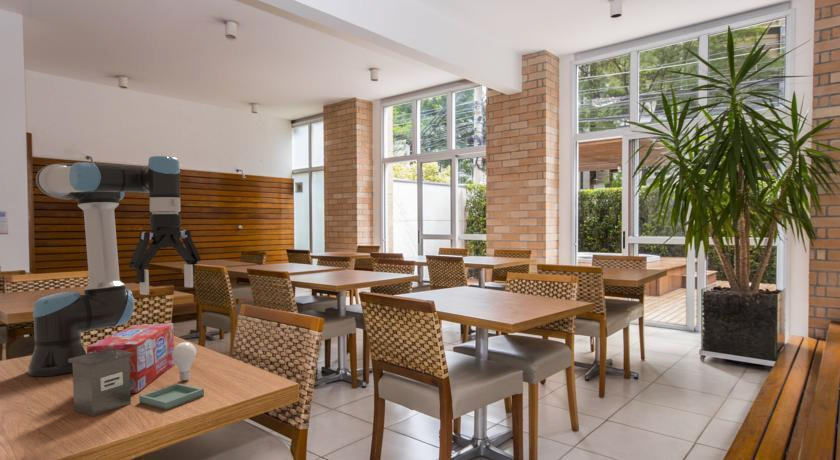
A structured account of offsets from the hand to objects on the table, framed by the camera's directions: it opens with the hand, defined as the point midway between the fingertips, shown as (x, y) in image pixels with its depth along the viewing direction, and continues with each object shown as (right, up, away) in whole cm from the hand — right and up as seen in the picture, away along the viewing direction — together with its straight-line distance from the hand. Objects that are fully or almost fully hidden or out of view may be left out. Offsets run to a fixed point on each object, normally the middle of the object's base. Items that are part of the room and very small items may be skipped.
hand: (167, 290), depth 137 cm
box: (-13, -27, +7) cm, 31 cm away
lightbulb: (+2, -26, +5) cm, 27 cm away
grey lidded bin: (-9, -27, -14) cm, 32 cm away
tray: (+6, -27, -10) cm, 29 cm away
